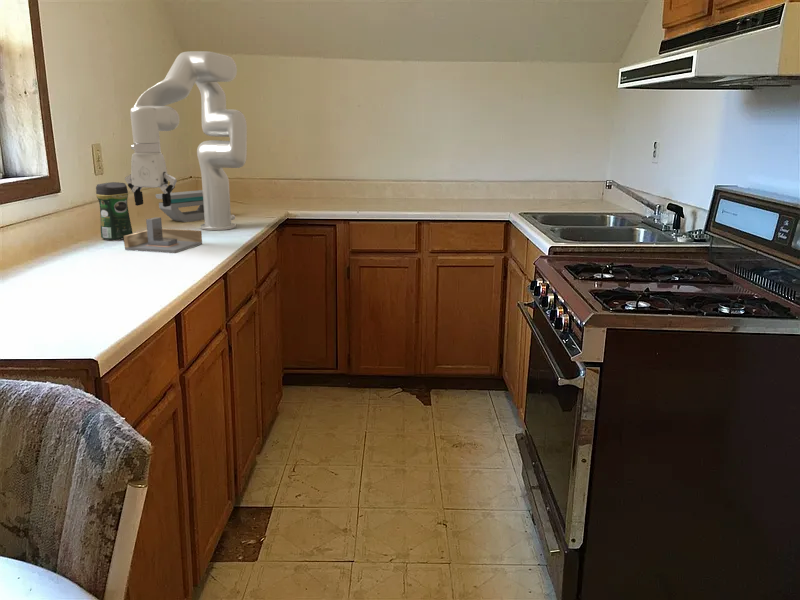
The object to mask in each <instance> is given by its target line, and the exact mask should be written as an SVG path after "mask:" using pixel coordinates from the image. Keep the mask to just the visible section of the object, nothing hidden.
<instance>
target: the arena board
mask: <svg viewBox="0 0 800 600" xmlns="http://www.w3.org/2000/svg"><path fill="white" fill-rule="evenodd" d="M200 245H203V241H202V242H190V241H177V244H174V245H171V246H155V245H148V242H146V243H143V244H139V245H135V246H132V247H125V246H124V251H135V250H138V252H152V253H154V252H155V253H167V254H168V253H169V254H176V253H178V252H182V251H185V250H187V249H191V248H194V247H197V246H200Z"/></svg>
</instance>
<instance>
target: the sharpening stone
mask: <svg viewBox="0 0 800 600" xmlns="http://www.w3.org/2000/svg"><path fill="white" fill-rule="evenodd" d="M162 194H163V193H155V198H156V199H158V200H162ZM170 196H171V206H167V207H164V206H163V201H162V202H158V208H159V209H160V210H161V211H162V212H163V213H164V214H165V215H166V216H168V218H170V219H171V220H172V221H175V222H181V223H190V222H199V221H203V220H204V205H203V190H202V189H198V190H189V191H187V190H185V191H178V192H177V191H176V192H171V193H170ZM197 206H198V207H197ZM189 207H197V209H196V210H189V211H181V210H180V209H179V208H189ZM204 221H205V220H204Z"/></svg>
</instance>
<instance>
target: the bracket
mask: <svg viewBox="0 0 800 600" xmlns="http://www.w3.org/2000/svg"><path fill="white" fill-rule="evenodd" d="M145 220H146V230H147V236H148V245H155V246H171V245H174V244H177V239H171V238H163V234H162V229H163V223H162V217H158V216H155V217H151V218H147V219H146V218H145Z"/></svg>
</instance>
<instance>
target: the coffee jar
mask: <svg viewBox="0 0 800 600" xmlns="http://www.w3.org/2000/svg"><path fill="white" fill-rule="evenodd" d="M126 184H127V183H124V182H119V181H118V182H116V181H115V182H114V181H112V182H105V183H98V184H96V186H95V189H96V190H95V193H96V194H95V195H96V198H97V200H98V203H99V211H100V212H99V213H100V214H99V215H100V219H99V220H100V237H101V239H103V240H104V241H105V240H106V241H109V240H115V241H118V240H119V239H120V240H124V236H125V235H129V234H133V227H132V222H131V219H130V218H131V217H130V212H129V206H128V198H129V191H128V187H127V186H128V185H126Z"/></svg>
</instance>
